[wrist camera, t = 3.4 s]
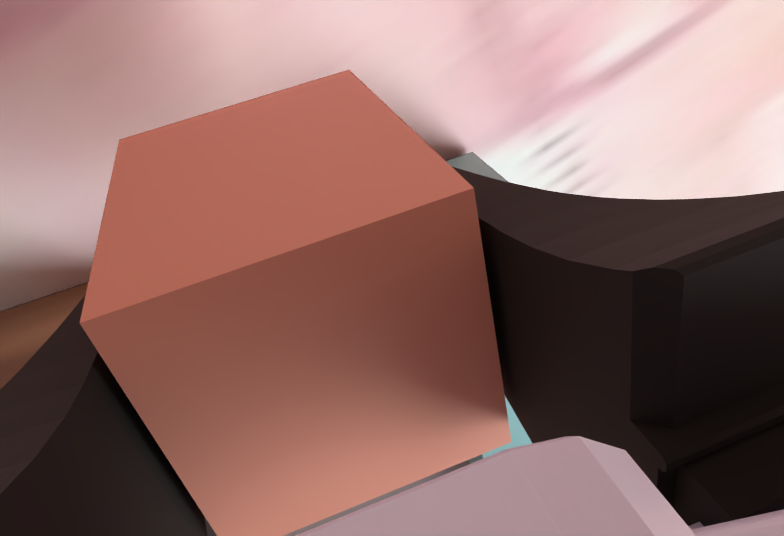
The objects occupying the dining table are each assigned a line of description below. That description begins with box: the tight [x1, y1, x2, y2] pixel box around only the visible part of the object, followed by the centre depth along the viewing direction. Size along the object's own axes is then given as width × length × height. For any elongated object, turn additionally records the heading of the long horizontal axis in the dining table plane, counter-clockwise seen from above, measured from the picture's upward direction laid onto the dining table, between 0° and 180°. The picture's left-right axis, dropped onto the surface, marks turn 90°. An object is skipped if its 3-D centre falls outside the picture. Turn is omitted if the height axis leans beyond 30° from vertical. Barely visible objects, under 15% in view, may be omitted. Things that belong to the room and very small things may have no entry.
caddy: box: [0, 283, 88, 389], centre depth 20 cm, size 13×12×4 cm
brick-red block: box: [80, 70, 511, 536], centre depth 10 cm, size 4×4×6 cm
